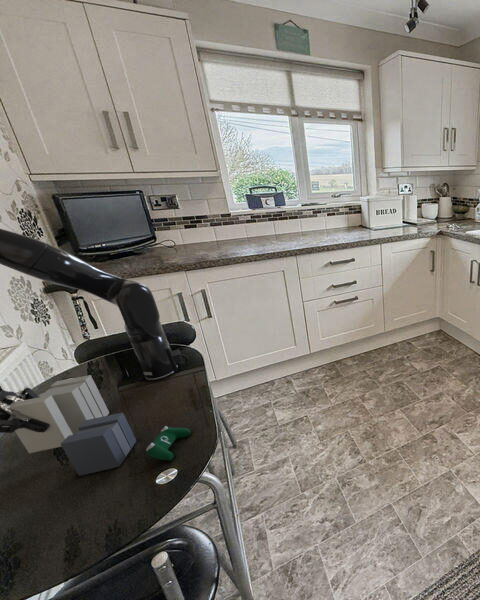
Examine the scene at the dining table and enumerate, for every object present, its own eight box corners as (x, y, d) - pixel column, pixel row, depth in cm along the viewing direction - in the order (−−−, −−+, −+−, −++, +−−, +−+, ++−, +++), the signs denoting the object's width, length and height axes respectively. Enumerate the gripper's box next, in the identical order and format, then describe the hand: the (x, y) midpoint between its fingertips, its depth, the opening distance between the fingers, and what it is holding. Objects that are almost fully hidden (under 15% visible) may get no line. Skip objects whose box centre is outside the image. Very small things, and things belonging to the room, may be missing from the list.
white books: (77, 419, 93) (56, 381, 88) (109, 412, 95) (90, 374, 90) (57, 439, 86) (33, 399, 81) (93, 432, 87) (71, 392, 83)
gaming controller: (185, 439, 85) (163, 428, 83) (193, 429, 84) (170, 418, 82) (165, 468, 76) (139, 457, 74) (172, 458, 75) (147, 447, 73)
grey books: (100, 449, 81) (84, 418, 78) (136, 440, 83) (122, 411, 79) (79, 476, 74) (60, 444, 70) (119, 466, 75) (103, 434, 72)
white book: (36, 446, 80) (10, 402, 75) (75, 438, 82) (51, 395, 77) (29, 453, 78) (1, 409, 73) (68, 445, 79) (44, 401, 75)
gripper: (-66, 399, 64) (38, 433, 71) (-4, 363, 77) (79, 395, 84) (-84, 427, 65) (20, 457, 72) (-20, 387, 78) (63, 416, 85)
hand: (51, 424), depth 78 cm, fingers closed on white book, 2 cm apart
